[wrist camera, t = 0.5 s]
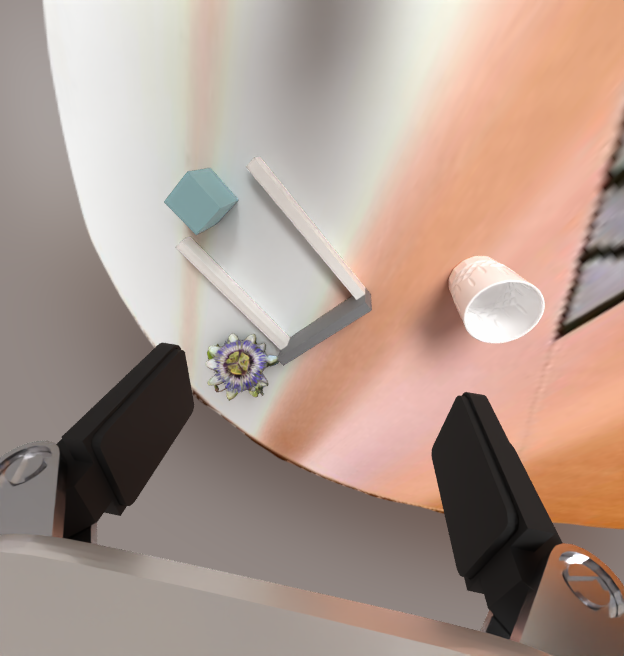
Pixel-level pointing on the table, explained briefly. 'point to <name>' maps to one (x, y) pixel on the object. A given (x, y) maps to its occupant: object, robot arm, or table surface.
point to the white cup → (494, 300)
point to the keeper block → (200, 199)
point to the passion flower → (239, 365)
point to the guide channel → (360, 295)
